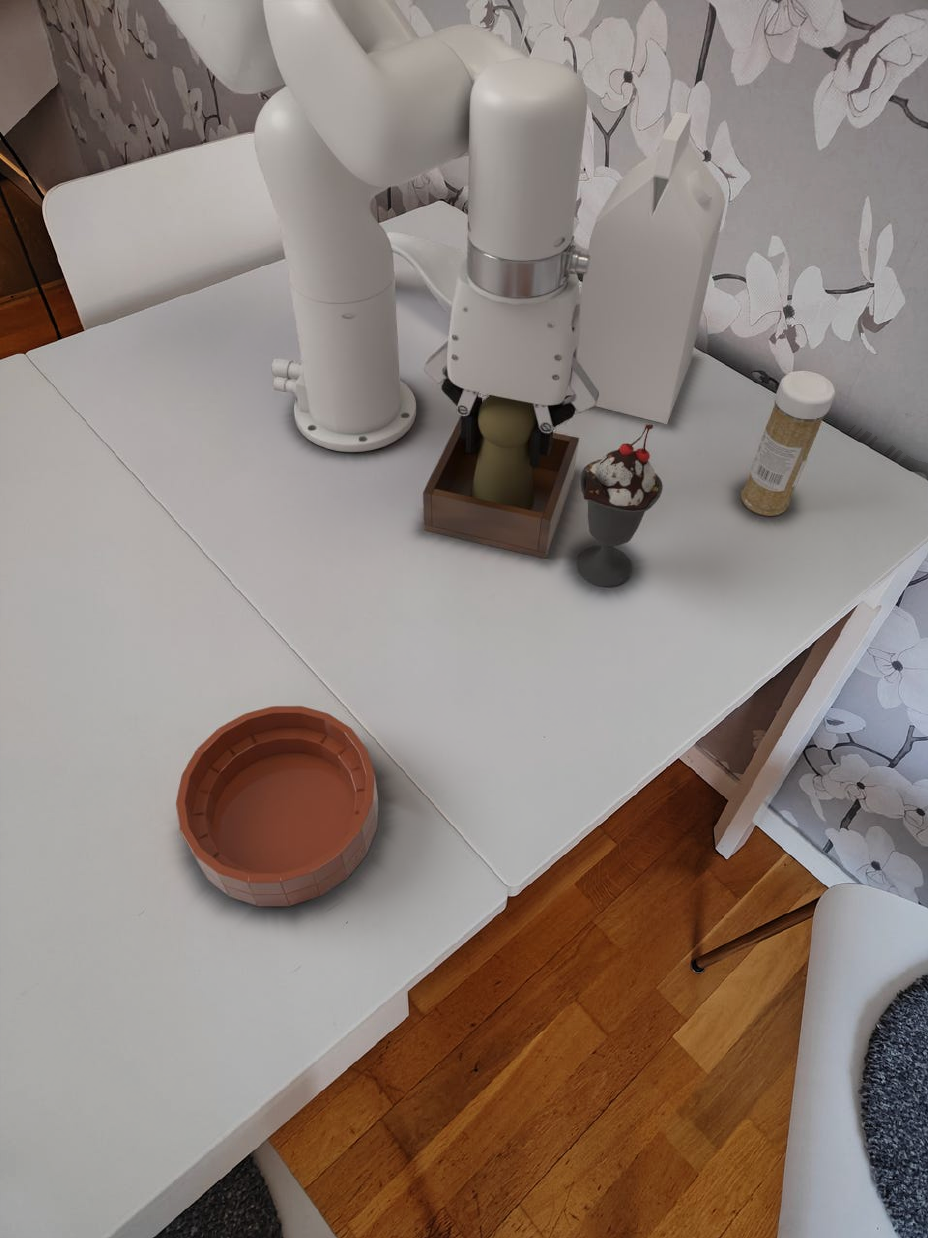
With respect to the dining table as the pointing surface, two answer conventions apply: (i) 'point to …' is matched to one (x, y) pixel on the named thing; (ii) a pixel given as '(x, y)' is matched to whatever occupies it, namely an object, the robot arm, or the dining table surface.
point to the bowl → (279, 805)
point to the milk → (649, 278)
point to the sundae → (616, 509)
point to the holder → (493, 521)
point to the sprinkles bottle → (787, 441)
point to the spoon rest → (431, 264)
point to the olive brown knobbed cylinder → (505, 452)
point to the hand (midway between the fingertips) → (505, 449)
